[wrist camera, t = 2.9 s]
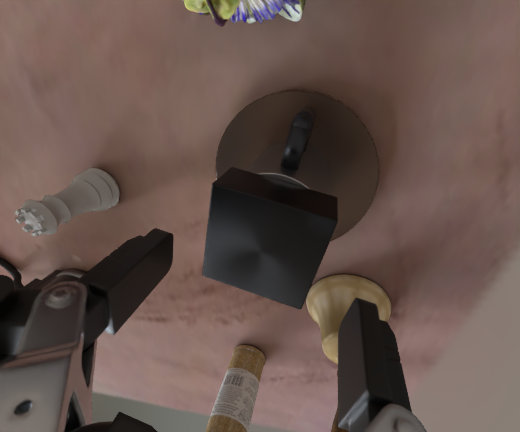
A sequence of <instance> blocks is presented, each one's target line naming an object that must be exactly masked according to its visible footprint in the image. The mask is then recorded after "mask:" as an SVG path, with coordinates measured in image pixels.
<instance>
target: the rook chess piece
mask: <svg viewBox="0 0 520 432" xmlns="http://www.w3.org/2000/svg"><path fill="white" fill-rule="evenodd" d="M119 195H120V191H119V186H118V184H117V183H116V181H115V179H114V178H113V177H112V176H111V175H110V174H108V173H106V172H105V171H103V170H100V169H96V168H90V169H87V170H85V171H84V172H81V173H79V174H78V175H77V176H76V177H75V179H74V180H73V181H72V183H71V184H70V186H69V187H67V188H66V189H64V190H62V191H61V192H59V193H58V194H55V195H53V196H52V195H47V196H45V197H44V198H43V200H42V201H36V200H27V201H25V203H24V204H23V207H22V208H21V209H18V210H16V212H15V214H16V215H21V216H19V217H17V218H15V219H16V221H17V223H22V222H25V223H26V224H27V226H25V227H23V228H22V229H23V230H24V231H25V232H29V231H31V230H33V231H34V232H32V233H31V234H32V236H39V235H40V236H41V235H42V234H53V233H55V232H56V231H57V229H58V226H59V224H60V223H63V224H65V223H68V222H69V221H70V219H71V218H72V217H74V216H76V215H79V214H82V213H84V212H87V211H91V212H93V211H103V210H107V209H109V208H110V207H113V206H115V205H116V204H117V203H118V201H119Z"/></svg>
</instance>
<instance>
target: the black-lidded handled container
mask: <svg viewBox="0 0 520 432" xmlns="http://www.w3.org/2000/svg"><path fill="white" fill-rule="evenodd" d="M315 117H316V112H315V110H314V109H313V108H312V107H305V108H303V109H302V110H301V111H300V112H299V113H298V114H297V115H296V116H295V117H294V118H293V120H292V121H291V124H290V128H289V132H288V136H287V140H286V141H285V142H280V143H277V144H275V145H273V146H271V147H270V148H268V149H267V150H266V151H265V152H263V153H262V155H261V156H260V157H259V158H258V159H257V160H256V161H255V162H254V163H253V164H252V165H251V166H250V167H249V168H248V170H247V171H245V170H242V169H238V168H235V167H231V168H229V169H228V170H227V171H226V172H225V173H224V174H223V175H221V176H220V177H219V178H218V179H217V180H216V181H215V182H214V183H213V184H212V191H211V200H210V209H209V217H208V226H207V235H206V244H205V253H204V262H203V271H202V276H205V277H208V278H211V279H213V280H216V281H219V282H222V283H225V284H228V285H231V286H234V287H237V288H239V289H242V290H245V291H248V292H251V293H254V294H257V295H260V296H263V297H266V298H268V299H271V300H274V301H277V302H280V303H283V304H286V305H289V306H292V307H294V308H297V309H302V306H303V304H304V302H305V299H306V297H307V294H308V292H309V290H310V287H311V285H312V283H313V280H314V278H315V275H316V273H317V271H318V268H319V266H320V264H321V261H322V259H323V256H324V254H325V252H326V249H327V247H328V244H329V242H330V240H331V237H332V235H333V233H334V230H335V228H336V225H337V223H338V198H337V197H335V196H332V195H330V191H331V174H330V169H329V166H328V164H327V162H326V160H325V159H324V157H323V156H322V155H321V154H320V153H319V152H318V151H317V150H316V149H314V148H313V147H311V146H309V145H307V144H308V141H309V137H310V134H311V130H312V127H313V124H314V120H315Z"/></svg>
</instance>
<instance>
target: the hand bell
mask: <svg viewBox="0 0 520 432" xmlns="http://www.w3.org/2000/svg"><path fill="white" fill-rule="evenodd" d="M355 298H360V299H363V300H366V301H369V302H372V303H375V304H376V305H377V307H378V313H379V319H380V320H383V321H386V322H387V321H388V319H389V317H390V314H391V302H390V299H389V297H388V296H387V294H386V293H385V292H384V290H383V289H382V288H381V287H379V286H378V285H377V284H375V283H374V282H372V281H370V280H368V279H365V278H362V277H359V276H355V275H346V274H344V275H333V276H329V277H326V278H324V279H321V280H319V281H318V282H316V283H315V284H314V285H313V286H312V287H311V288H310V290H309V292H308V294H307V298H306V304H307V308H308V311H309V313H310V315H311V317H312V318H313V320H314V321H315V322H316V323H317V324H318V325H319V326H320V330H321V337H322V348H323V351H324V353H325V355H326V356H327V357H328V358H329V359H330V360H331V361H333V362H334V363H336V364H338V332H339V327H340V324H341V322H342V320H343V318H344V316H345V314H346V313H347V311H348V309H349V307H350V306H351V304H352V302H353V301H354V299H355ZM337 375H338V371H337ZM331 432H349V431H347V430H345V429H342V428H340V427H338V407H337V412H336V415H335V418H334V421H333V425H332V430H331Z"/></svg>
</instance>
